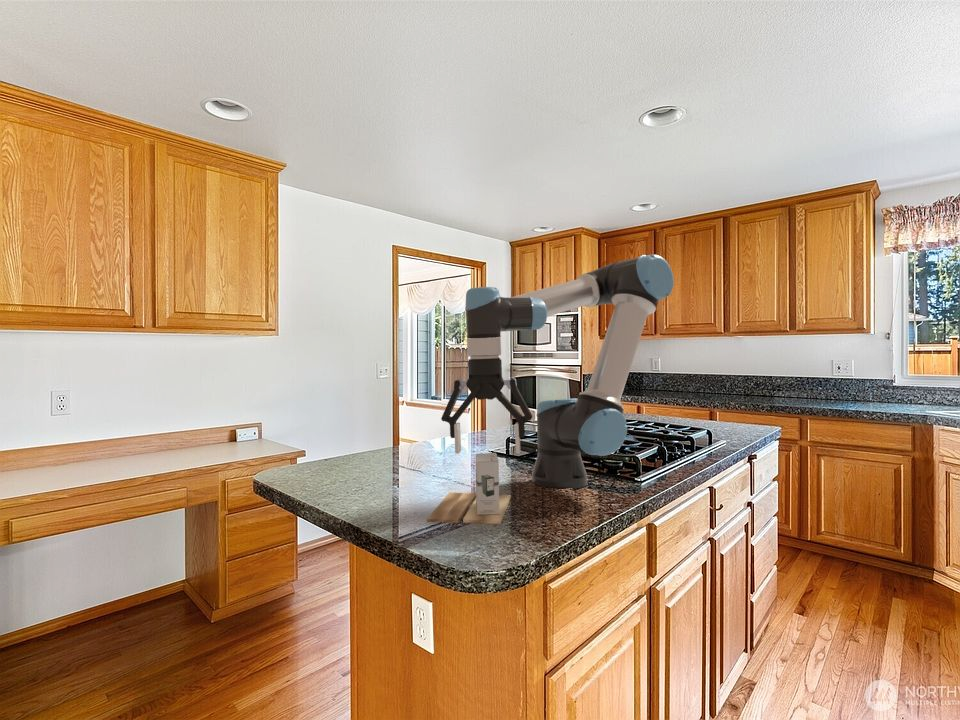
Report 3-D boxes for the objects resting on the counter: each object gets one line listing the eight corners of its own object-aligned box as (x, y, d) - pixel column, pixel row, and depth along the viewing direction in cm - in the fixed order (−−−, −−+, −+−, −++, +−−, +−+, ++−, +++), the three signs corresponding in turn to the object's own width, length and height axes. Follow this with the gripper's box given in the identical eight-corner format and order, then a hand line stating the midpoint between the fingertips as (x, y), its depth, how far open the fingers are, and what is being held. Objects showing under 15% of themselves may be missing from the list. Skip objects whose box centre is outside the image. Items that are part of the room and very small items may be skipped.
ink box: (475, 503, 117) (474, 452, 116) (496, 502, 117) (496, 452, 117) (476, 515, 108) (476, 460, 108) (499, 514, 108) (499, 460, 108)
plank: (510, 500, 123) (510, 494, 123) (500, 527, 104) (500, 521, 104) (478, 498, 124) (478, 493, 124) (463, 524, 106) (462, 518, 106)
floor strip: (476, 498, 125) (476, 493, 125) (459, 526, 105) (459, 519, 105) (449, 497, 126) (449, 492, 126) (427, 524, 107) (427, 518, 107)
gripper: (541, 355, 113) (544, 448, 114) (434, 358, 118) (438, 448, 118) (539, 356, 106) (543, 456, 107) (425, 359, 110) (429, 455, 111)
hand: (487, 452), depth 112 cm, fingers open, 13 cm apart
